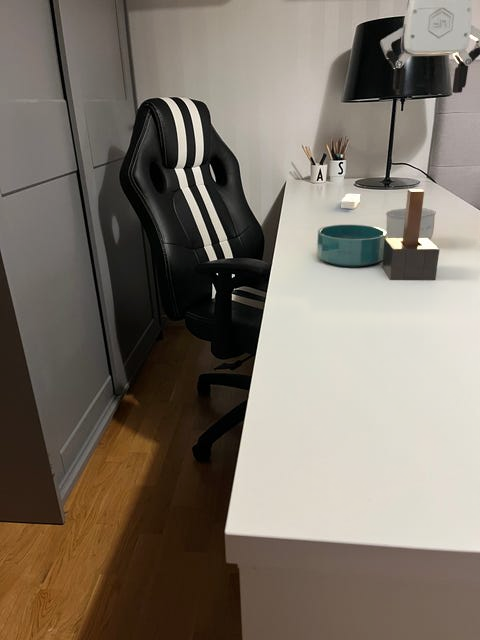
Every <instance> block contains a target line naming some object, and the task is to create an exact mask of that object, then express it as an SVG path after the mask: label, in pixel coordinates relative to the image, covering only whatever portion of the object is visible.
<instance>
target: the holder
mask: <svg viewBox="0 0 480 640" xmlns="http://www.w3.org/2000/svg"><path fill="white" fill-rule="evenodd" d="M402 241H403V238H398V239H397V238H388V237H386V238H385V240H384V251H383V260H382V264H381V268H382V269H383V271H384V273H385V274H386V276H387V277H388V279H389V280H390V281H436V278H437V271H438V264H439V256H440V248H439V247H438V246H437V245H436V244H434V242H433V241H431V239H430V240H429V239H428V238H419V240H418V246H404V245H403V244H402Z"/></svg>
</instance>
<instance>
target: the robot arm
mask: <svg viewBox="0 0 480 640" xmlns="http://www.w3.org/2000/svg"><path fill="white" fill-rule="evenodd" d="M472 14H473V0H407V4H406V8H405V14H404V18H403V19H404V20H403V26H402V27H400V28H399V29H397V30H396V31H393V32H392V33H391V34H388V35H386V36H385V37H384V38H382V39H381V40H380V42H379V44H380V47H381V49H382V52H383V54H384V58H385V59H386V60H387V61H388V63H389V64H390V65H391V67H392V68H393V69H394V70H393V71H394V72H393V83H392V89H393V90H395V95H403V94H404V91H405V81H406V72H407V70H406V67H405V63H406V62H407V61H408V60H409V59H410V57H430V56H431V57H433V56H451V55H452V56H453V58H454V59H455V61H456V63H457V66H456V67H455V68H454V76H453V82H452V89H451V90H452V93H453V94H460V93H463V88H466V85H467V79H468V72H469V66H471V65H472V63H473V62H474V61H475V60H476V59H477V58H478V57H479V56H480V29H479V28H478V27H476V26H474V25H472V17H473V15H472ZM399 39H401V41H400V52H401V53H400V54H399V55H397V54H396V53H395V51H393V47H392V43H394V42H396V41H397V40H399ZM471 39H473V40H474V41H475V45H474V47H473V49H471V50H470V51H469V52H468V51H467V49H468V47H469V45H470V40H471Z"/></svg>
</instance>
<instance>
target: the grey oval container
mask: <svg viewBox="0 0 480 640" xmlns="http://www.w3.org/2000/svg"><path fill="white" fill-rule="evenodd" d="M405 213H406V207H404V208H395V209H391V210H387V211H386V213H385V215H386V227H385V228H386V230H385V231H386V233H387V235H386V238H397V239H398V238H403V232H404V222H405ZM436 214H437V213H436V211H435V210H433V209H431V208H430V209H429V208H427V207H422V215H421V223H420V232H419V238H428V239H429V240H430V241H431V239H432V238H433V235H434V229H435V218H436Z"/></svg>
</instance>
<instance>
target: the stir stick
mask: <svg viewBox="0 0 480 640" xmlns="http://www.w3.org/2000/svg"><path fill="white" fill-rule="evenodd" d="M424 196H425V190H423V189H417V188H416V189H413V188H412V189H411V188H410V189H407V195H406V205H405V208H406V213H405V222H404V232H403V241H402V244H403V245H404V246H418V240H419V232H420V223H421V215H422V208H423V205H424Z"/></svg>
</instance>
